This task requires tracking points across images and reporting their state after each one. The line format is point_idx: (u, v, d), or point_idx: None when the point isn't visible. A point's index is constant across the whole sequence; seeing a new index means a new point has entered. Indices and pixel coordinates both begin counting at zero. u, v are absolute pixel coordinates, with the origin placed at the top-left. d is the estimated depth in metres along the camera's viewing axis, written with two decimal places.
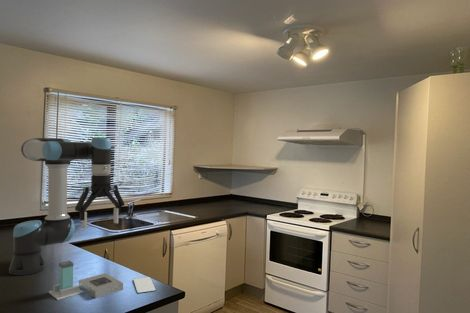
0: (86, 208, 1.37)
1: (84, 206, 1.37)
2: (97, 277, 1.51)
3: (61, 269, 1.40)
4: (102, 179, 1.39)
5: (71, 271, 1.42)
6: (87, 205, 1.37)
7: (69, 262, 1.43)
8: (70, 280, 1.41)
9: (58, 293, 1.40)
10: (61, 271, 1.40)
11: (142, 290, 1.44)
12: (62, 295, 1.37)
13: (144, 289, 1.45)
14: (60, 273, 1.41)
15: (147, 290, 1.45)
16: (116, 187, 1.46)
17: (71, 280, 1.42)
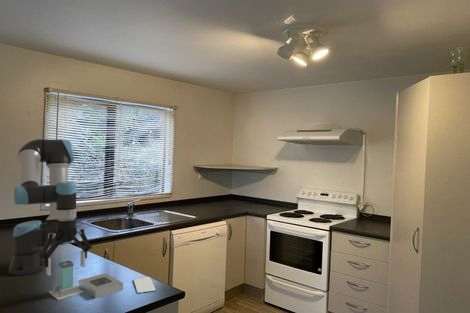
0: (50, 255, 1.36)
1: (48, 253, 1.36)
2: (97, 277, 1.51)
3: (61, 269, 1.40)
4: (66, 224, 1.38)
5: (71, 271, 1.42)
6: (51, 252, 1.36)
7: (69, 262, 1.43)
8: (70, 280, 1.41)
9: (58, 293, 1.40)
10: (61, 271, 1.40)
11: (142, 290, 1.44)
12: (62, 295, 1.37)
13: (144, 289, 1.45)
14: (60, 273, 1.41)
15: (147, 290, 1.45)
16: (82, 231, 1.45)
17: (71, 280, 1.42)
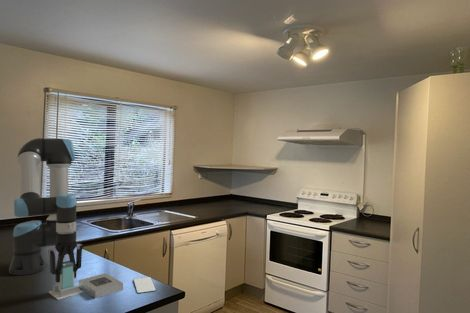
0: (60, 269, 1.39)
1: (57, 269, 1.39)
2: (97, 277, 1.51)
3: (61, 269, 1.40)
4: (66, 237, 1.38)
5: (71, 271, 1.42)
6: (60, 267, 1.39)
7: (69, 262, 1.43)
8: (70, 280, 1.42)
9: (58, 293, 1.40)
10: (61, 271, 1.40)
11: (142, 290, 1.44)
12: (62, 295, 1.37)
13: (144, 289, 1.45)
14: None
15: (147, 290, 1.45)
16: (81, 247, 1.45)
17: (71, 280, 1.42)
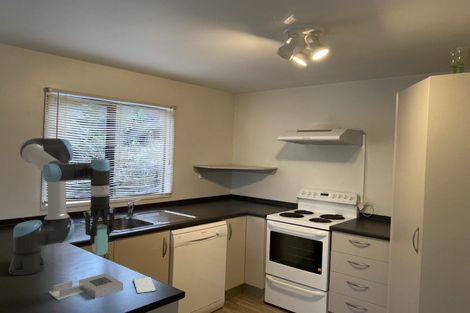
0: (95, 231, 1.43)
1: (92, 230, 1.43)
2: (97, 277, 1.51)
3: None
4: (100, 200, 1.42)
5: (105, 233, 1.46)
6: (94, 228, 1.43)
7: (103, 225, 1.47)
8: (104, 242, 1.45)
9: (58, 293, 1.40)
10: (95, 233, 1.44)
11: (142, 290, 1.44)
12: (62, 295, 1.37)
13: (144, 289, 1.45)
14: (95, 235, 1.45)
15: (147, 290, 1.45)
16: (114, 210, 1.49)
17: (105, 242, 1.46)
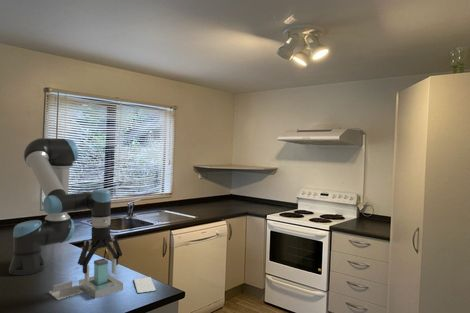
0: (88, 261, 1.42)
1: (86, 260, 1.41)
2: None
3: (96, 267, 1.45)
4: (102, 231, 1.43)
5: (106, 269, 1.46)
6: (89, 258, 1.42)
7: (104, 260, 1.47)
8: (105, 277, 1.46)
9: (58, 293, 1.40)
10: (96, 269, 1.45)
11: (142, 290, 1.44)
12: (62, 295, 1.37)
13: (144, 290, 1.45)
14: (95, 271, 1.45)
15: (147, 290, 1.45)
16: (116, 237, 1.50)
17: (106, 277, 1.46)
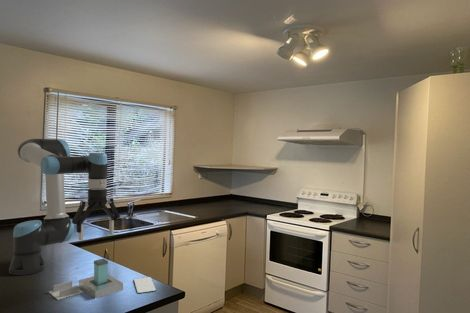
0: (83, 221, 1.43)
1: (81, 219, 1.43)
2: None
3: (96, 267, 1.45)
4: (98, 193, 1.45)
5: (106, 269, 1.46)
6: (84, 218, 1.43)
7: (103, 260, 1.47)
8: (105, 277, 1.46)
9: (58, 293, 1.40)
10: (96, 269, 1.45)
11: (142, 290, 1.44)
12: (62, 295, 1.37)
13: (144, 290, 1.45)
14: (95, 271, 1.45)
15: (147, 290, 1.45)
16: (112, 200, 1.52)
17: (106, 277, 1.46)
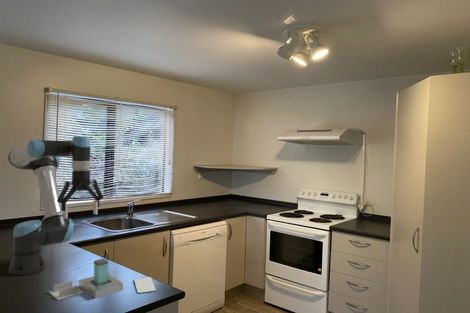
0: (67, 200, 1.52)
1: (65, 198, 1.52)
2: None
3: (96, 267, 1.45)
4: (81, 174, 1.54)
5: (106, 269, 1.46)
6: (68, 197, 1.52)
7: (103, 260, 1.47)
8: (105, 277, 1.46)
9: (58, 293, 1.40)
10: (96, 269, 1.45)
11: (142, 290, 1.44)
12: (62, 295, 1.37)
13: (144, 290, 1.45)
14: (95, 271, 1.45)
15: (147, 290, 1.45)
16: (95, 181, 1.61)
17: (106, 277, 1.46)
